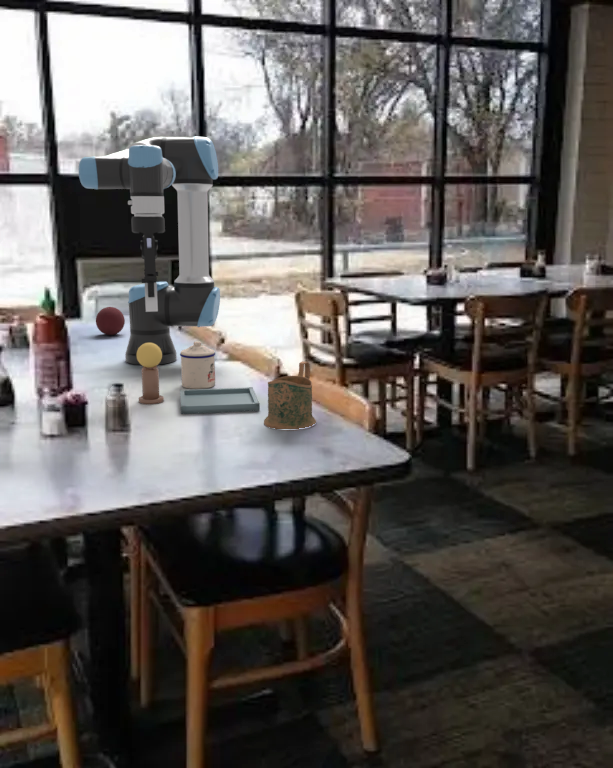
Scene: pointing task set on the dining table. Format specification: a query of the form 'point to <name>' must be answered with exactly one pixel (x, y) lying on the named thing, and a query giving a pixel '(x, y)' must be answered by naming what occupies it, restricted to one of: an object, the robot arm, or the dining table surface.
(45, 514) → the dining table surface
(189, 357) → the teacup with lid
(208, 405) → the tray
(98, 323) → the decorative ball
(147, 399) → the stand cup
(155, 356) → the ball
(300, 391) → the brown green vessel
